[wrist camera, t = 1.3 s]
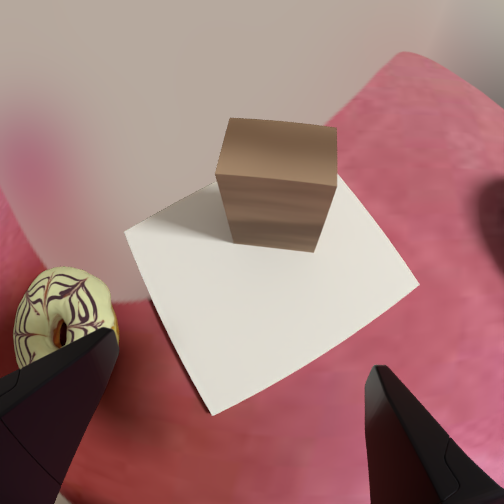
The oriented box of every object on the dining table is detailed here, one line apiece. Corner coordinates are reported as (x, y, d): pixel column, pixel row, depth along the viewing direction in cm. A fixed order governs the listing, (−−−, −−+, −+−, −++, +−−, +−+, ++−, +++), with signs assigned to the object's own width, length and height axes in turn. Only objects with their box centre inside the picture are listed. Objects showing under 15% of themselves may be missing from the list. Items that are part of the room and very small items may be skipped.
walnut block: (313, 252, 23) (337, 186, 14) (233, 243, 23) (215, 173, 15) (316, 205, 24) (336, 127, 16) (242, 197, 25) (229, 117, 16)
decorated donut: (125, 267, 24) (104, 250, 21) (136, 400, 20) (114, 404, 17) (34, 283, 24) (9, 271, 20) (37, 397, 20) (10, 397, 17)
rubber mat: (416, 286, 22) (419, 284, 21) (214, 414, 20) (212, 415, 19) (306, 142, 27) (306, 138, 27) (126, 234, 25) (123, 231, 24)
